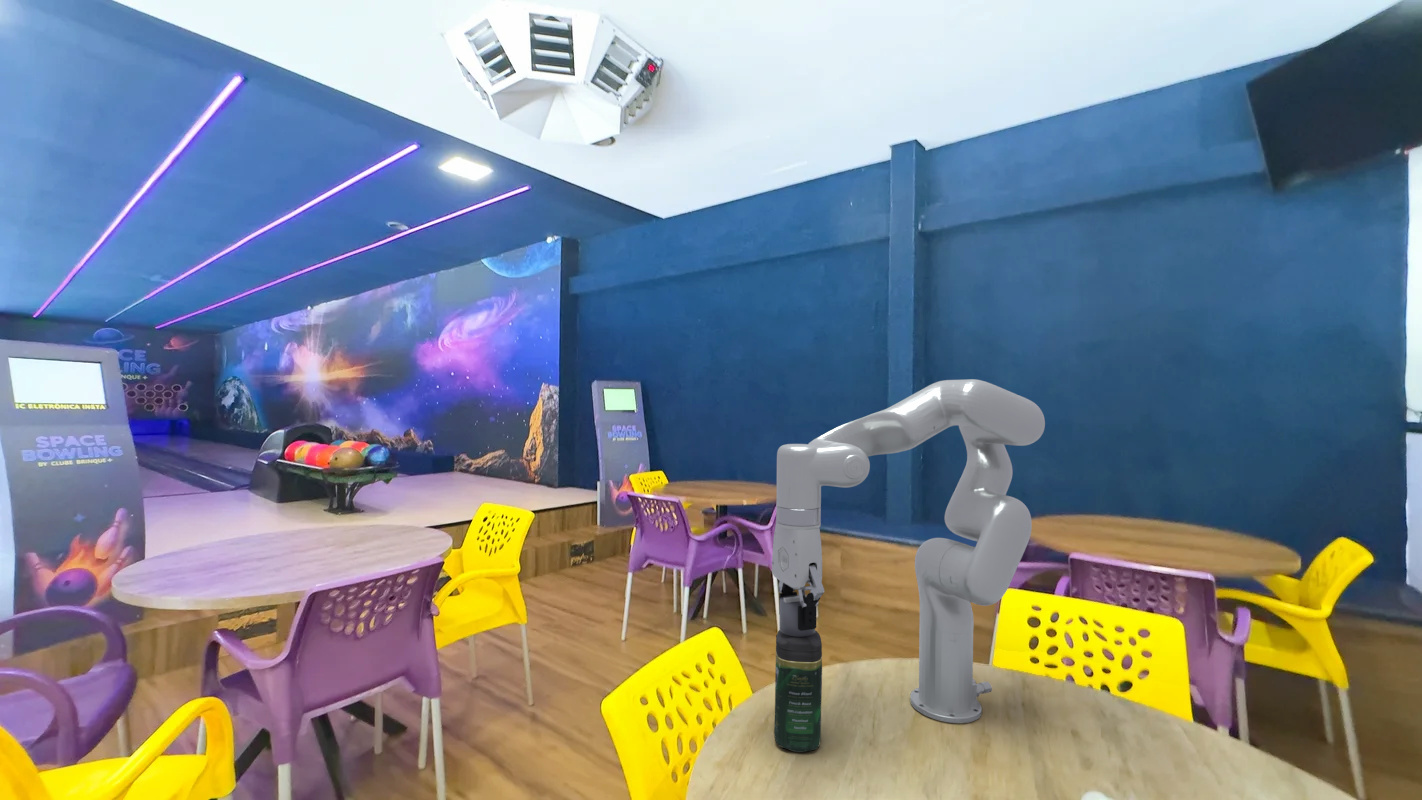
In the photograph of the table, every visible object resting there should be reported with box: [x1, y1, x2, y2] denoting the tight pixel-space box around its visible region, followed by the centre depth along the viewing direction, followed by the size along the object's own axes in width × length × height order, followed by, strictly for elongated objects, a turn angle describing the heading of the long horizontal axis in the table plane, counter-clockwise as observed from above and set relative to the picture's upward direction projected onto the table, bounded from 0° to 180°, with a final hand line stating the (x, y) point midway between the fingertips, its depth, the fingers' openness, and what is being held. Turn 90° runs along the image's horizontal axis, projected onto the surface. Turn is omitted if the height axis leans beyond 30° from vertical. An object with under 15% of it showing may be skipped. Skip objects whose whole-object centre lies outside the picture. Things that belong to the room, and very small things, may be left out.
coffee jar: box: [774, 629, 823, 753], centre depth 104 cm, size 10×8×19 cm
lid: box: [779, 594, 816, 637], centre depth 104 cm, size 6×6×6 cm
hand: (797, 621), depth 104 cm, fingers closed on lid, 5 cm apart
